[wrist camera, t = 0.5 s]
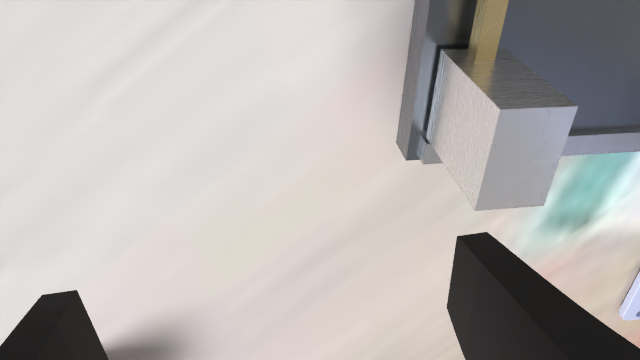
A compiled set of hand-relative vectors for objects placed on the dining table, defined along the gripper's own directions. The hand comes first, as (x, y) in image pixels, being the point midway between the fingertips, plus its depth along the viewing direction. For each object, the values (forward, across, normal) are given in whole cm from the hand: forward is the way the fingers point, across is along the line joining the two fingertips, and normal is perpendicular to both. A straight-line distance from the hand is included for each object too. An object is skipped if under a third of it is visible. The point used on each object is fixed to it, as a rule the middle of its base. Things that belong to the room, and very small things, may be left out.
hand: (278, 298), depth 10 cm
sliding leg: (+7, -7, -2) cm, 10 cm away
